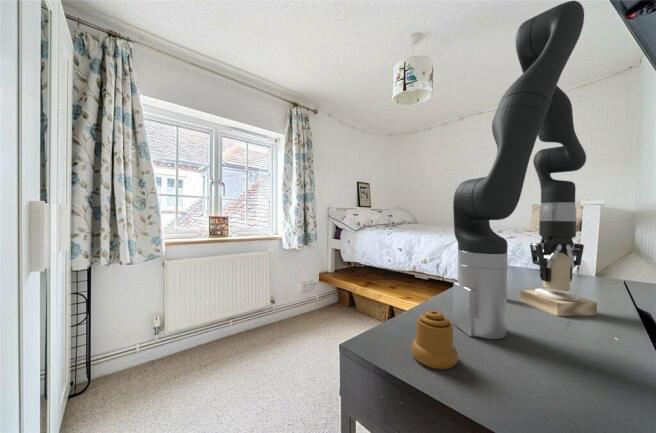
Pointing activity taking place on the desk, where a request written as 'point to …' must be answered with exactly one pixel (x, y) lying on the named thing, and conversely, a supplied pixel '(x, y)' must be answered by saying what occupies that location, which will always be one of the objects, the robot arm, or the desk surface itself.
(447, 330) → the ornamental finial
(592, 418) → the desk surface
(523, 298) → the candle stand
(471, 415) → the desk surface
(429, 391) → the desk surface
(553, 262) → the candle
